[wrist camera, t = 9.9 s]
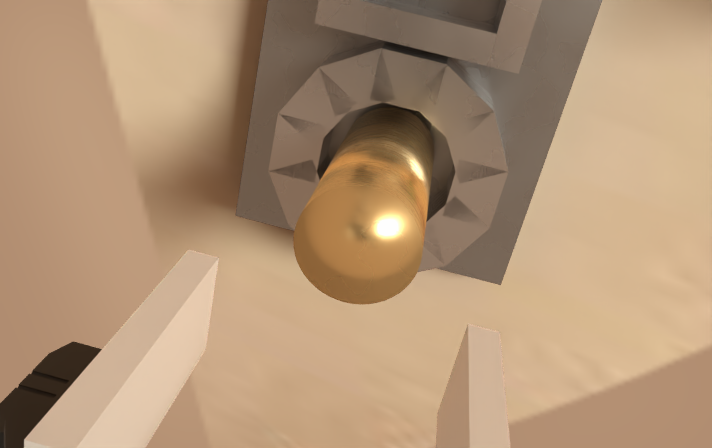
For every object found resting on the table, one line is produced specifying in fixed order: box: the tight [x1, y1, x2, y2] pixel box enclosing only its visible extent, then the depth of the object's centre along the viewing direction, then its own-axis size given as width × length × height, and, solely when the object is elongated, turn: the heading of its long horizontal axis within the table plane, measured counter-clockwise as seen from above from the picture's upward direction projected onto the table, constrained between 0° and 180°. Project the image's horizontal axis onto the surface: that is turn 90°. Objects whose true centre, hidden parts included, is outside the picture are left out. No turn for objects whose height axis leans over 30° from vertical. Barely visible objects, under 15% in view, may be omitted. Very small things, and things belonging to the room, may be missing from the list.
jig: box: [236, 0, 602, 285], centre depth 28 cm, size 18×13×5 cm
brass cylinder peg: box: [293, 107, 434, 304], centre depth 25 cm, size 4×4×10 cm
